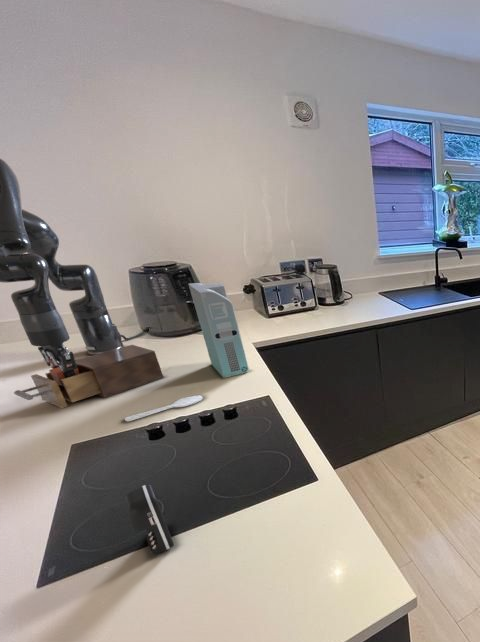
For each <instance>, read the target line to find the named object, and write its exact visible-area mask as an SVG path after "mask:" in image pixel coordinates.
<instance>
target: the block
mask: <svg viewBox="0 0 480 642" xmlns="http://www.w3.org/2000/svg"><path fill="white" fill-rule="evenodd" d="M67 367H69V365H67ZM48 371H49V372H50V373H51V375H52V377H53V380H54V381H55V382H57V384H58V385H61V386H64V385H63V383H62V381H61V379H65V377H64V375H63V372H61V369H60V368H59V367H58V368H54V369H52V368H51V369H49V370H48ZM74 372H75V374H76V375H79V374H80V373H79V371H78V369H75V370H74Z"/></svg>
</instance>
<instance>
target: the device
mask: <svg viewBox="0 0 480 642" xmlns="http://www.w3.org/2000/svg"><path fill="white" fill-rule="evenodd" d="M188 287H189V290H190V295H191V298H192V302H193V304H194V309H195V311H196V315H197V319H198V323H199V326H200V329H201V332H202V336H203V339H204V343H205V346H206V349H207V350H206V351H207V353H208V356H209V360H210V365H212V367H213V368H214V369H215V370H216V371H217V372H218V373H219V375H220V376H221V377H222V378H223V379H226V378H230V377H233V376H237V375H242V374H245V373H248V372H249V371H250V369H249V364H248V360H247V356H246V352H245V349H244V345H243V340H242V336H241V333H240V328H239V325H238V320H237V316H236V311H235V308H234V305H233V302H232V301H231V300H230V299H229V298H228V295H227V292H226V288H225V285H223V284H222V283H221V282H218V283H217V282H216V283H208V284H204V283H200V282H191V283H188Z"/></svg>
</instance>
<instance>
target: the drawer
mask: <svg viewBox="0 0 480 642" xmlns="http://www.w3.org/2000/svg"><path fill="white" fill-rule="evenodd" d="M76 366H77V365H76ZM77 369H78V371H79V373H80V374H79V375H75V376H72V377H68V378H65V379H61V381H62V383H63V385H64V386H61V385H58V384H57V382H55V381H54V380H53V377H52V375H51V373H50V371H49V372H45V376H43V375H40V374H36V373H35V374H31V375H30V377H31V379H32V382H33V384H34V386H32V387H29V388H27V389H22V390H20V389H18V390H15V391H14V392H13V394H14V395H15V396H17V397H20V398H21V399H24V400H27V401H32V400H33V399H34V398H36V397H39V396H40V398H41V400H42V401H45V402H47V403H49V404H51V405H54V406H56V407H58V408H61V409H64V408H66V407H67V408H68V404H67V402H66V401H68V402H70V403H75V402H77V401H82V400H85V399H87V398H90V397H94V396H95V395H96V394H99V393H101V391H100V388H99V386H98V383H97V381H96V379H95V376H94V374H93V371H91V370H89V369H86V368H83V367H80V366H77ZM35 390H37V392H38V393H34V394H30V393H27V392H31V391H35ZM96 396H97V395H96Z"/></svg>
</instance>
